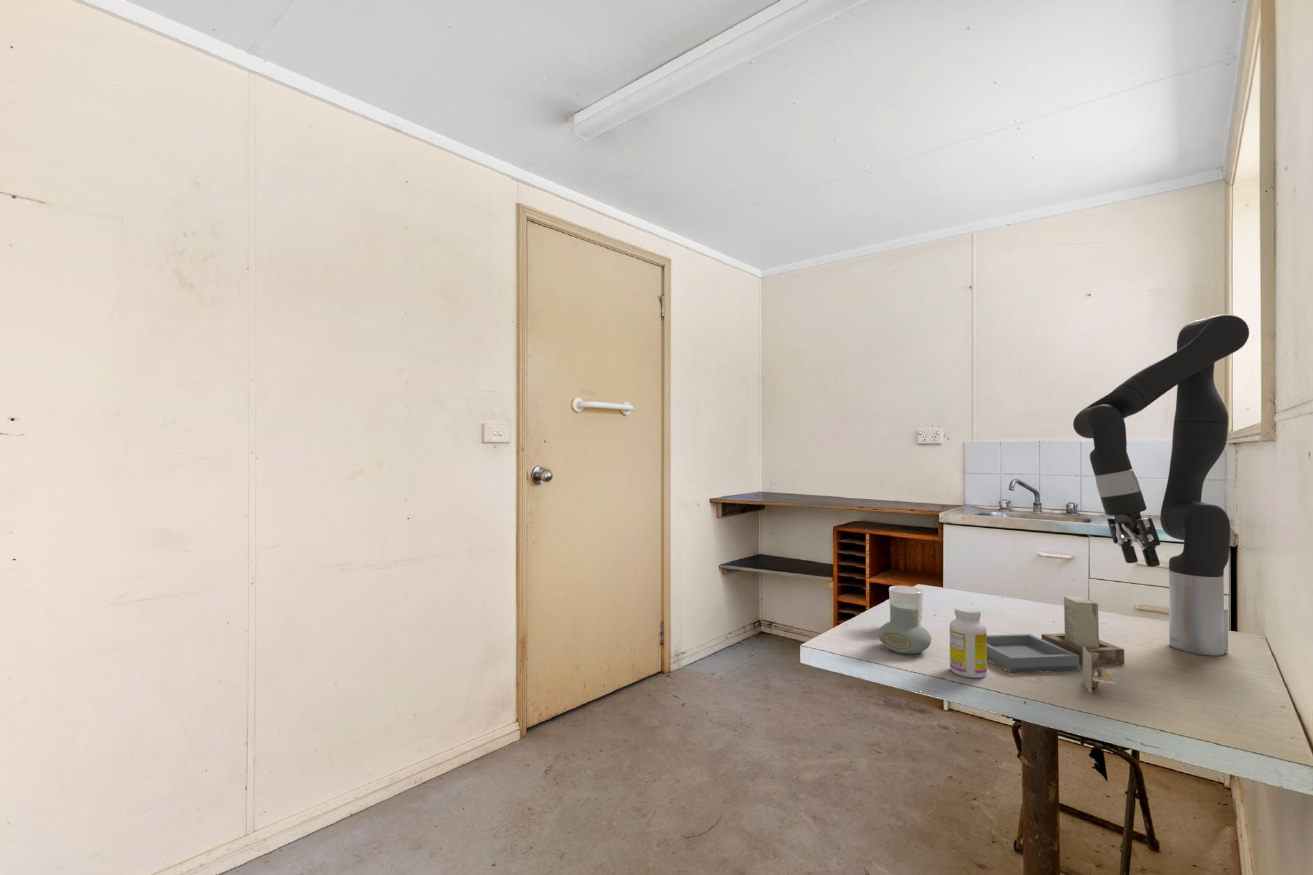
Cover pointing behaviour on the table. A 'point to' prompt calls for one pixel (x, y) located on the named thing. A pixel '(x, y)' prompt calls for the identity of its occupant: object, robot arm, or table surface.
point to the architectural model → (1093, 671)
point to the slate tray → (1029, 654)
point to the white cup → (907, 597)
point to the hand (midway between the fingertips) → (1142, 564)
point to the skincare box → (1081, 622)
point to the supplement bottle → (968, 643)
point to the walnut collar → (1089, 649)
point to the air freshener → (904, 630)
